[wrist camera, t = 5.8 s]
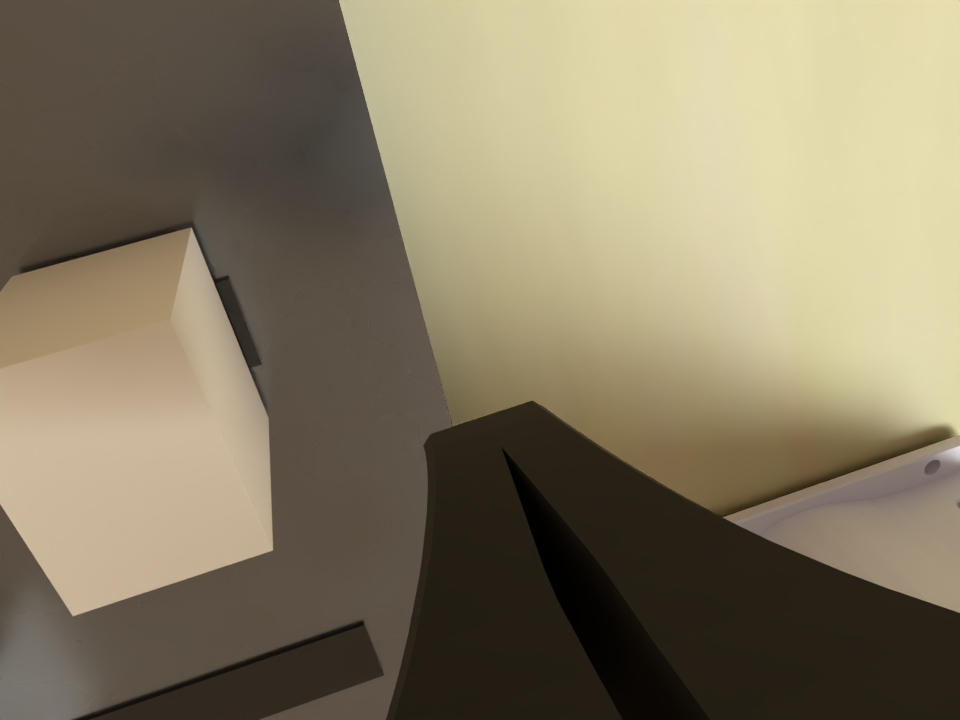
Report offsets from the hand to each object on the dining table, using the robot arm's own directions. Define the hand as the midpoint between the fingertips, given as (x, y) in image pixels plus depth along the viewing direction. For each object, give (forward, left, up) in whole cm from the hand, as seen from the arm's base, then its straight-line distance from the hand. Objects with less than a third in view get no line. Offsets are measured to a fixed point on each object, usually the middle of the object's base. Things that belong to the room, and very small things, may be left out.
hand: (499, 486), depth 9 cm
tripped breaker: (+5, 0, -7) cm, 8 cm away
